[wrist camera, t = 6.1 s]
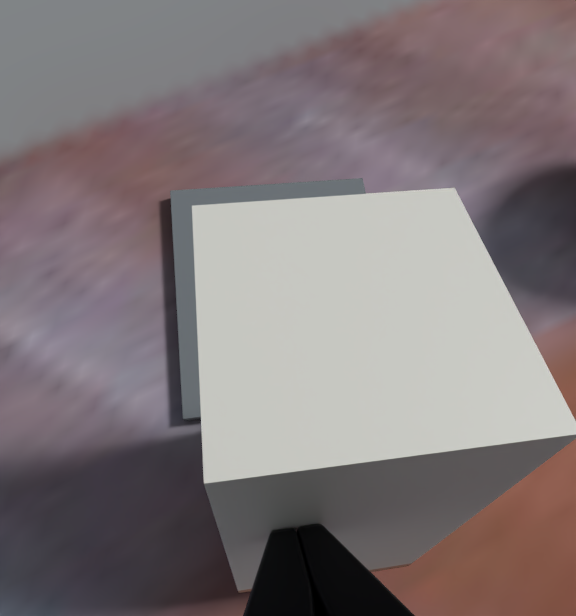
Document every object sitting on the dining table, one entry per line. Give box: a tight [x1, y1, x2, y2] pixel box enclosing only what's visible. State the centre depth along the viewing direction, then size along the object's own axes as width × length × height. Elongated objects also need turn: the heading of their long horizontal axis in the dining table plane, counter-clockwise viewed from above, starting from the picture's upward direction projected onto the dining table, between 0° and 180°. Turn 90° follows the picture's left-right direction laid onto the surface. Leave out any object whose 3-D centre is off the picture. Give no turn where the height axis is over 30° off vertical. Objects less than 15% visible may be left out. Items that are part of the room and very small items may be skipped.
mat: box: [170, 178, 366, 421], centre depth 17 cm, size 8×7×1 cm
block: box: [192, 188, 576, 593], centre depth 11 cm, size 4×4×9 cm
